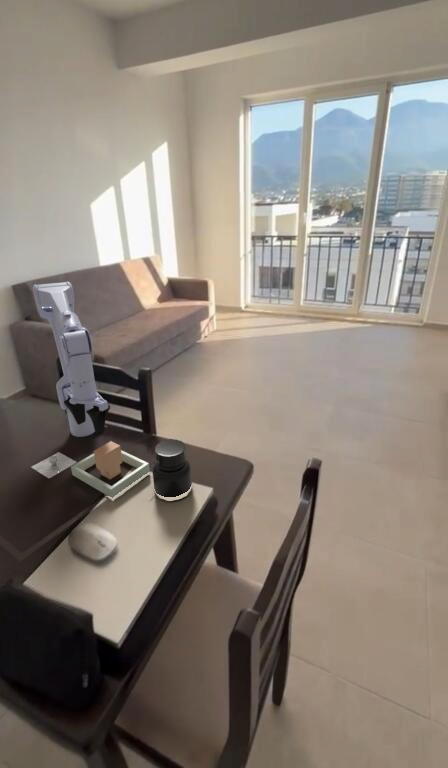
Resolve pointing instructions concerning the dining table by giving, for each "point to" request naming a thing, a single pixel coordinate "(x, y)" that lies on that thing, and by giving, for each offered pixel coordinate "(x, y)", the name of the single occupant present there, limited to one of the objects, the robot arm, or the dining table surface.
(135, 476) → the parts bin
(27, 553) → the dining table surface
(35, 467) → the stud plate
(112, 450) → the light orange block
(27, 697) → the dining table surface
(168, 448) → the ink bottle
